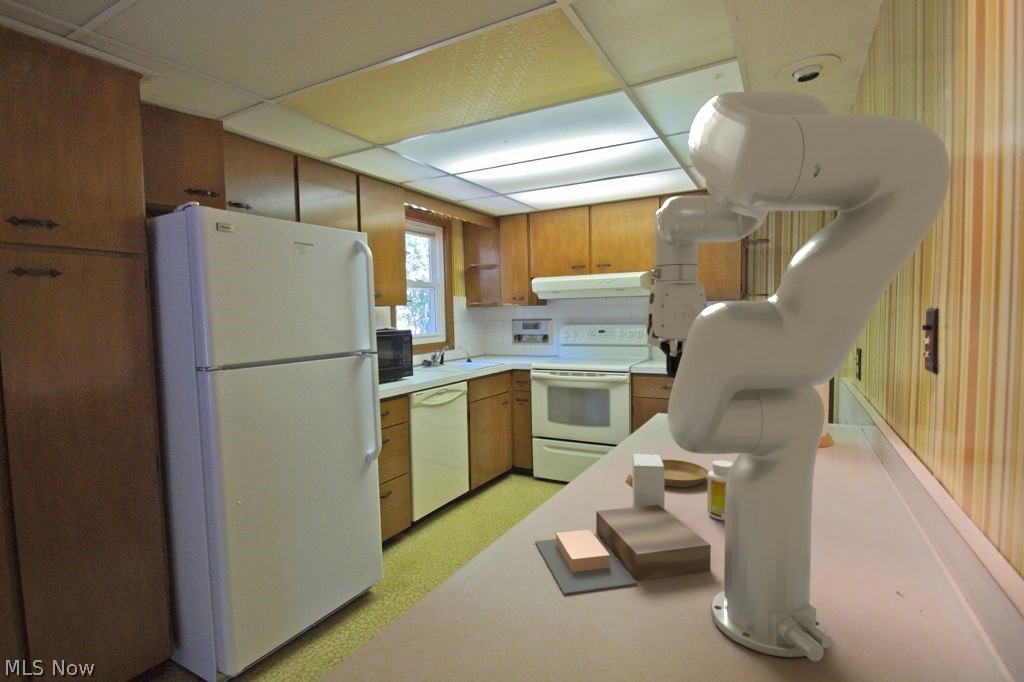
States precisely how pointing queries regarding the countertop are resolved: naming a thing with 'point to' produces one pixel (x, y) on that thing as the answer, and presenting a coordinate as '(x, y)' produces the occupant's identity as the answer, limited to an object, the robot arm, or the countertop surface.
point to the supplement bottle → (717, 488)
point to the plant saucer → (683, 473)
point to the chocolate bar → (629, 480)
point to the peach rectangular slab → (582, 550)
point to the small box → (648, 480)
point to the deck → (652, 542)
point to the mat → (583, 579)
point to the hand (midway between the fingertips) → (675, 377)
